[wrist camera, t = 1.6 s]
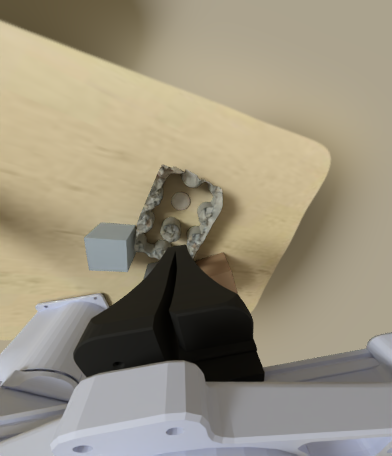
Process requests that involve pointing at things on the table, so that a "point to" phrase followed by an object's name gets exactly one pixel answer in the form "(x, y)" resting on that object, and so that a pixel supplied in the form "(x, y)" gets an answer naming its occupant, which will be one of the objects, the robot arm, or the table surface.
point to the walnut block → (218, 270)
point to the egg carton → (171, 224)
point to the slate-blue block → (110, 247)
